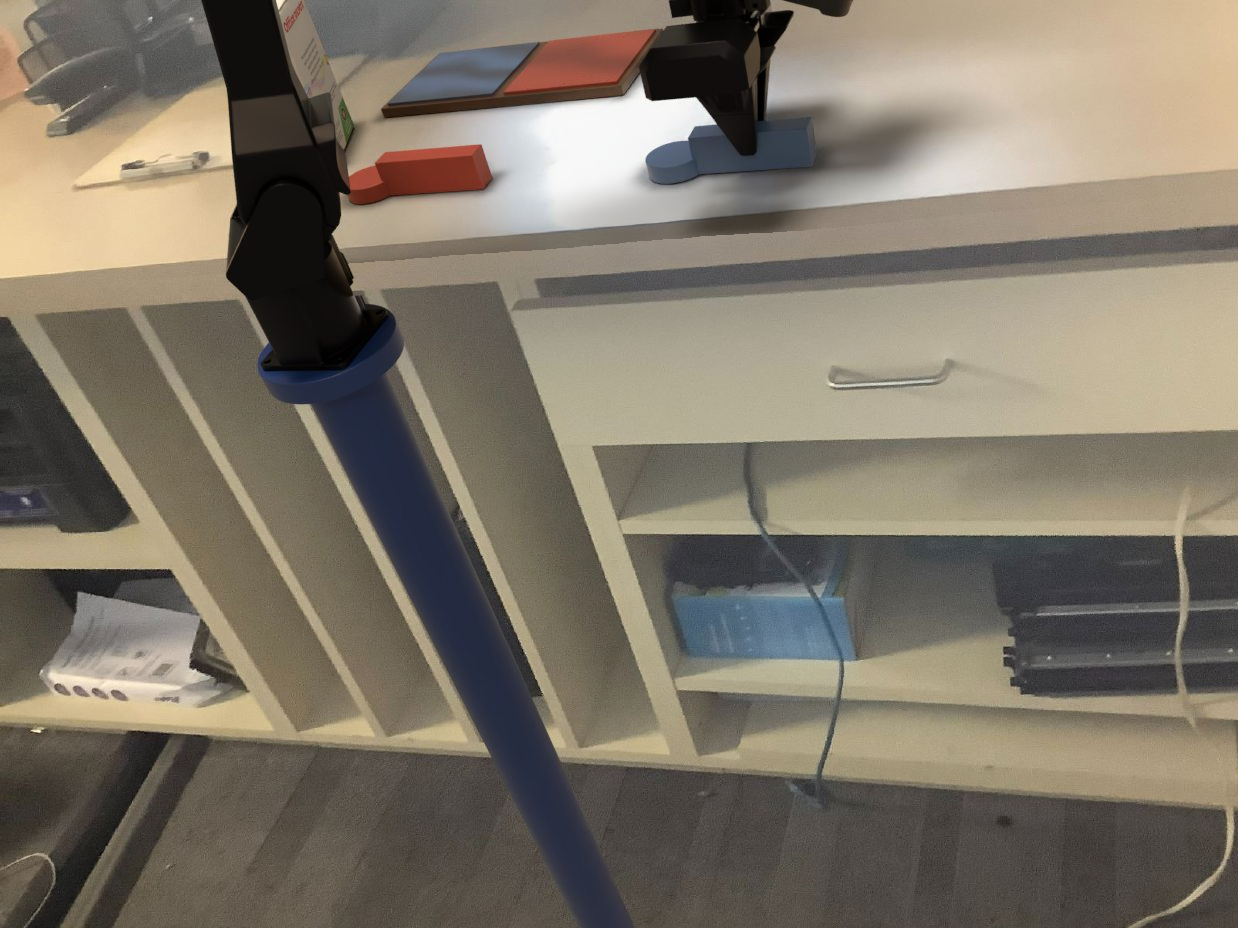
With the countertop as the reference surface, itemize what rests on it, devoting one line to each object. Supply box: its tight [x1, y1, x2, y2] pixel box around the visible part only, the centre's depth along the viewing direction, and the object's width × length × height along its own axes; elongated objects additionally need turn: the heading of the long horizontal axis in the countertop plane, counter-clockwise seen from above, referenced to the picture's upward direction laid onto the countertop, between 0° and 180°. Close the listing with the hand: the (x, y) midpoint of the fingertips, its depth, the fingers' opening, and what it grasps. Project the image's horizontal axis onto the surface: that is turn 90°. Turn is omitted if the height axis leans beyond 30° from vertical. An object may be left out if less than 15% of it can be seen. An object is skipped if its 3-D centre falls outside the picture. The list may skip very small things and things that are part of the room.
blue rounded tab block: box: [645, 116, 818, 185], centre depth 76 cm, size 12×4×3 cm, turn 75°
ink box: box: [276, 0, 355, 151], centre depth 90 cm, size 8×5×12 cm, turn 4°
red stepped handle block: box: [346, 143, 493, 205], centre depth 83 cm, size 12×4×3 cm, turn 75°
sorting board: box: [380, 28, 664, 118], centre depth 97 cm, size 12×22×1 cm, turn 75°
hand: (752, 147), depth 75 cm, fingers closed on blue rounded tab block, 2 cm apart
